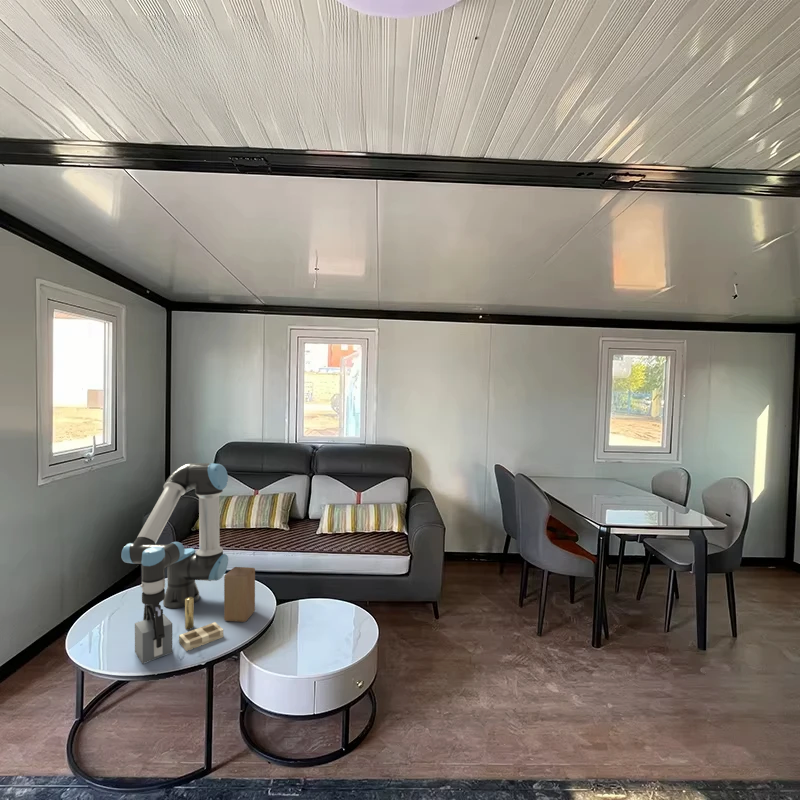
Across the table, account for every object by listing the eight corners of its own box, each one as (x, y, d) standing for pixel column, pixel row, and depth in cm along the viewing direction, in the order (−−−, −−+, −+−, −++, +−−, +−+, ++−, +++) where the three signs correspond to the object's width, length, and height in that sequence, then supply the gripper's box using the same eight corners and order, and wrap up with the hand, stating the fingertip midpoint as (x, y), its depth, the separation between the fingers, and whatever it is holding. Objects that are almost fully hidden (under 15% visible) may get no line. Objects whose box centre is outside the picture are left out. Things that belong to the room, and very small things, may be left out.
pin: (183, 627, 183) (183, 598, 183) (191, 624, 186) (191, 596, 185) (186, 630, 181) (186, 601, 181) (194, 627, 183) (194, 598, 183)
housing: (134, 652, 166) (134, 623, 166) (163, 641, 173) (163, 613, 173) (142, 663, 159) (142, 633, 158) (172, 652, 166) (172, 623, 166)
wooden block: (255, 611, 197) (255, 566, 197) (245, 623, 187) (245, 576, 187) (234, 610, 198) (234, 565, 198) (223, 621, 188) (223, 575, 188)
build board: (179, 642, 172) (179, 635, 172) (215, 629, 182) (215, 622, 182) (186, 651, 166) (186, 643, 166) (223, 637, 176) (223, 629, 176)
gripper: (133, 583, 171) (133, 640, 171) (151, 603, 155) (151, 666, 155) (155, 578, 176) (155, 633, 176) (174, 596, 160) (174, 657, 160)
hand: (153, 648), depth 166 cm, fingers closed on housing, 10 cm apart
